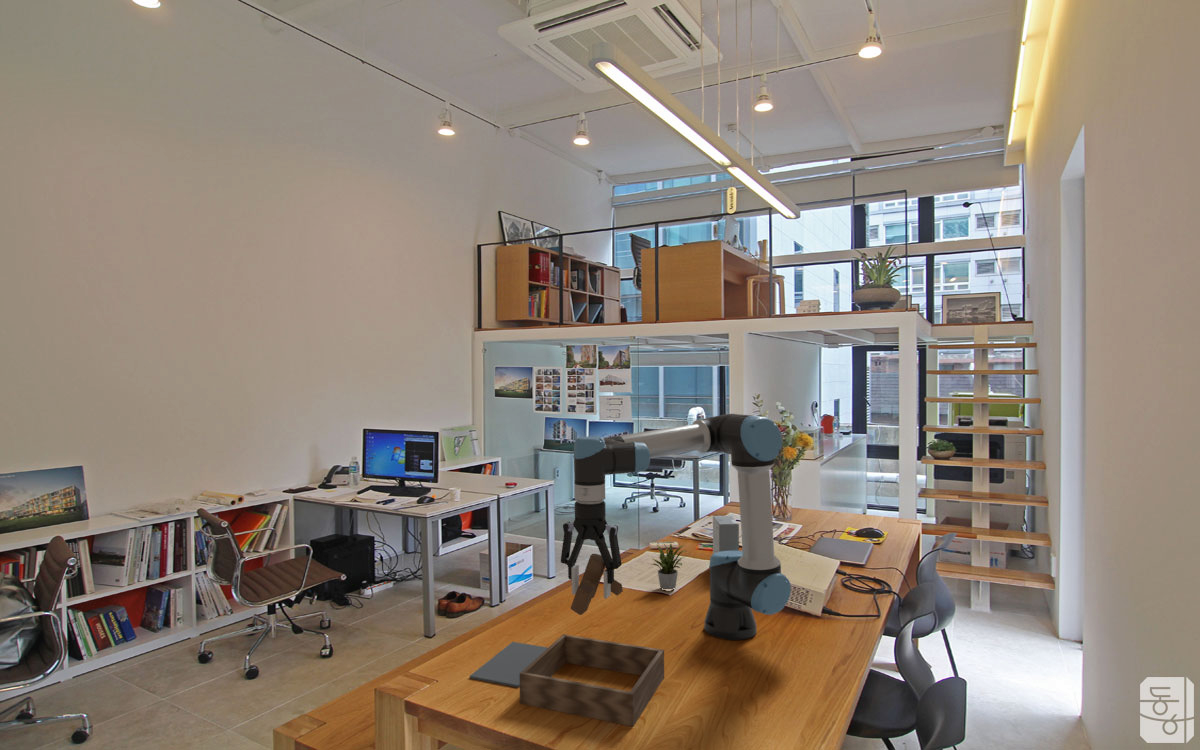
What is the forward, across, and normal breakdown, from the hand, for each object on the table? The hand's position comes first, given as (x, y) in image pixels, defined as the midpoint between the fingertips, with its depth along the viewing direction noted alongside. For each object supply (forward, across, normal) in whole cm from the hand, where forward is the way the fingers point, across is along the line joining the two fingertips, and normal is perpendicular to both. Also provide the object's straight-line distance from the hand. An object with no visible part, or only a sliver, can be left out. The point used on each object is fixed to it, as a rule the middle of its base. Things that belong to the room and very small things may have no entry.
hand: (591, 594), depth 158 cm
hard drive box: (+23, +14, +102) cm, 106 cm away
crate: (+23, +1, 0) cm, 23 cm away
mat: (+23, -24, +6) cm, 34 cm away
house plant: (+23, -1, +76) cm, 80 cm away
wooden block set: (+1, +1, -1) cm, 2 cm away
